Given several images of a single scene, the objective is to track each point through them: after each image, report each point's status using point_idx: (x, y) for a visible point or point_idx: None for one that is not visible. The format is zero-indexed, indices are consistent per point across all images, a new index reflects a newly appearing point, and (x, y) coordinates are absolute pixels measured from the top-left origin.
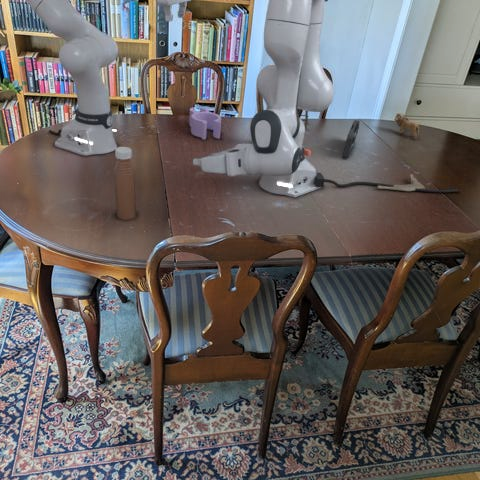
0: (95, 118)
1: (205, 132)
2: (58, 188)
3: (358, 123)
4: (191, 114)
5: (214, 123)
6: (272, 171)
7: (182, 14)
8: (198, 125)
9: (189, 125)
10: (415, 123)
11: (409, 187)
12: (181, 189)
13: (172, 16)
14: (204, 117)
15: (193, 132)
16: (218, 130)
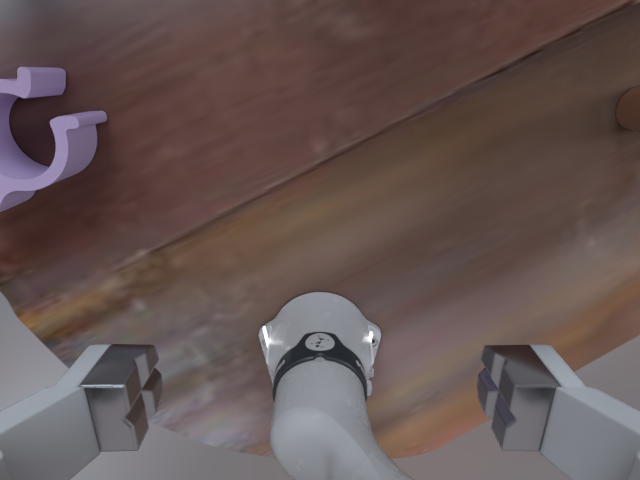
0: (360, 369)
1: (88, 112)
2: (551, 292)
3: None
4: (8, 201)
5: (34, 93)
6: None
7: (136, 370)
8: (77, 144)
9: (29, 198)
10: None
11: None
12: (469, 37)
13: (513, 371)
14: None
15: (89, 159)
16: (49, 73)
